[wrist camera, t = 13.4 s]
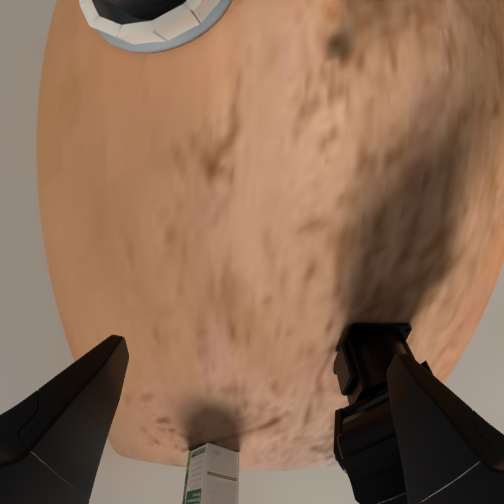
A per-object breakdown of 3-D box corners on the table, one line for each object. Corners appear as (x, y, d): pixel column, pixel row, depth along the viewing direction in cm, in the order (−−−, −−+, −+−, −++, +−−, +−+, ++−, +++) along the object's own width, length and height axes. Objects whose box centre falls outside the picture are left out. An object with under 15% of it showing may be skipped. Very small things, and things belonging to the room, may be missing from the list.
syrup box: (207, 441, 35) (197, 531, 22) (241, 452, 37) (237, 537, 24) (188, 451, 37) (176, 531, 24) (220, 461, 39) (214, 538, 26)
